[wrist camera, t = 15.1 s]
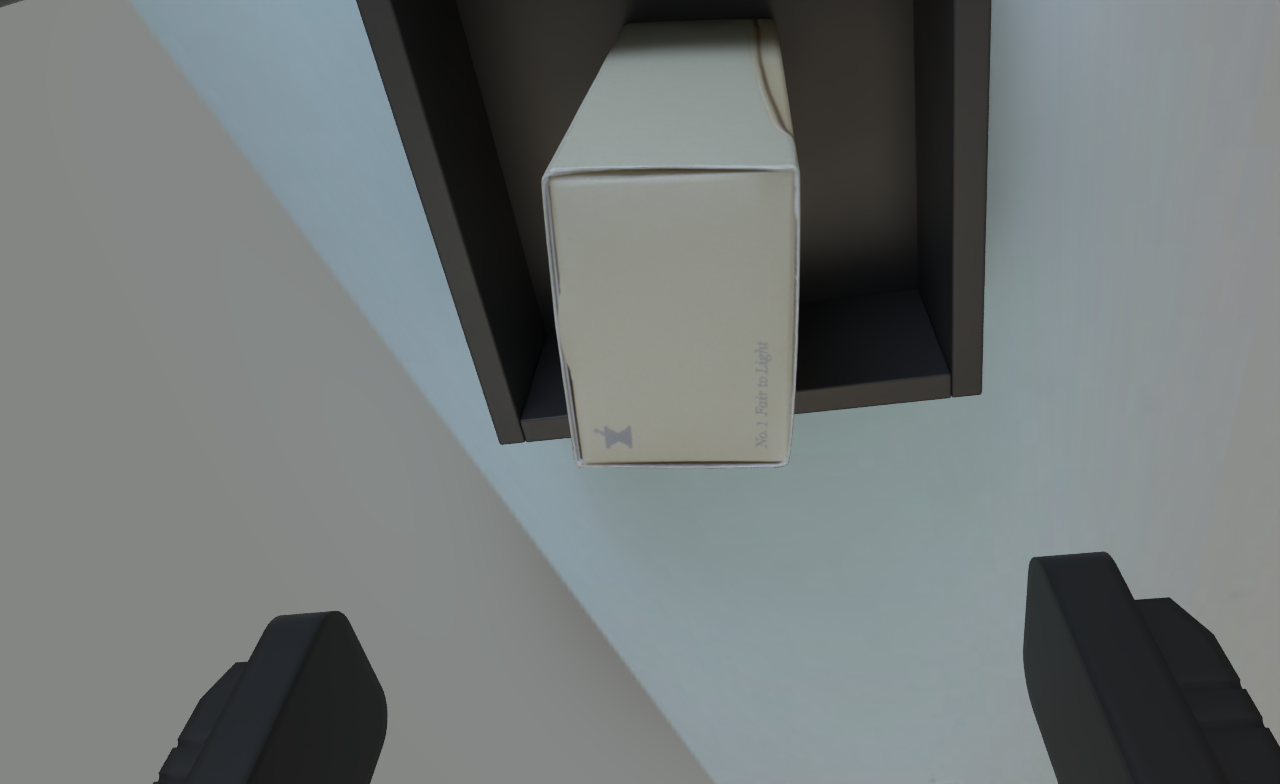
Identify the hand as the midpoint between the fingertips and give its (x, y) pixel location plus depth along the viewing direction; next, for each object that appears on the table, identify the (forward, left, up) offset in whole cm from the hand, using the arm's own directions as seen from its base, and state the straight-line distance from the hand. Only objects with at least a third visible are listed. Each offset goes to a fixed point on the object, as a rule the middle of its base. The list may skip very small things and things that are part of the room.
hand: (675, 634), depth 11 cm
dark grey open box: (0, 0, -19) cm, 19 cm away
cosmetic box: (0, 0, -19) cm, 19 cm away
